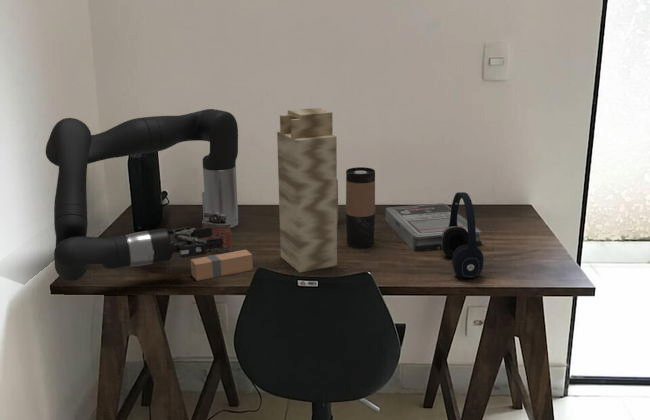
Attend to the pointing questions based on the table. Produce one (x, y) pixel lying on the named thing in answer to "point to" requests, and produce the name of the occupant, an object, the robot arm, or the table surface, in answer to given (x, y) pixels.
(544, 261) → the table surface
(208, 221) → the lighter
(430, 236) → the hard drive
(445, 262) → the table surface
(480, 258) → the headphones
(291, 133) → the socket tower
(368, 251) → the table surface
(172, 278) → the table surface
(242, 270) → the bar
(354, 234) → the travel mug
